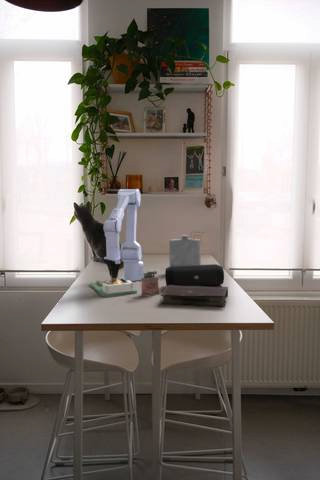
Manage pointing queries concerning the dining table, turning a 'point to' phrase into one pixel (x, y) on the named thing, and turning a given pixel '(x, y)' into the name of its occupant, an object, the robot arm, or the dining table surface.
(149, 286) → the lighter
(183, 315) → the dining table surface
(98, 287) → the pitch
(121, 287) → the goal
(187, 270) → the portable speaker
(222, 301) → the diary
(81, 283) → the dining table surface
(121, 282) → the beige block
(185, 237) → the hip flask
